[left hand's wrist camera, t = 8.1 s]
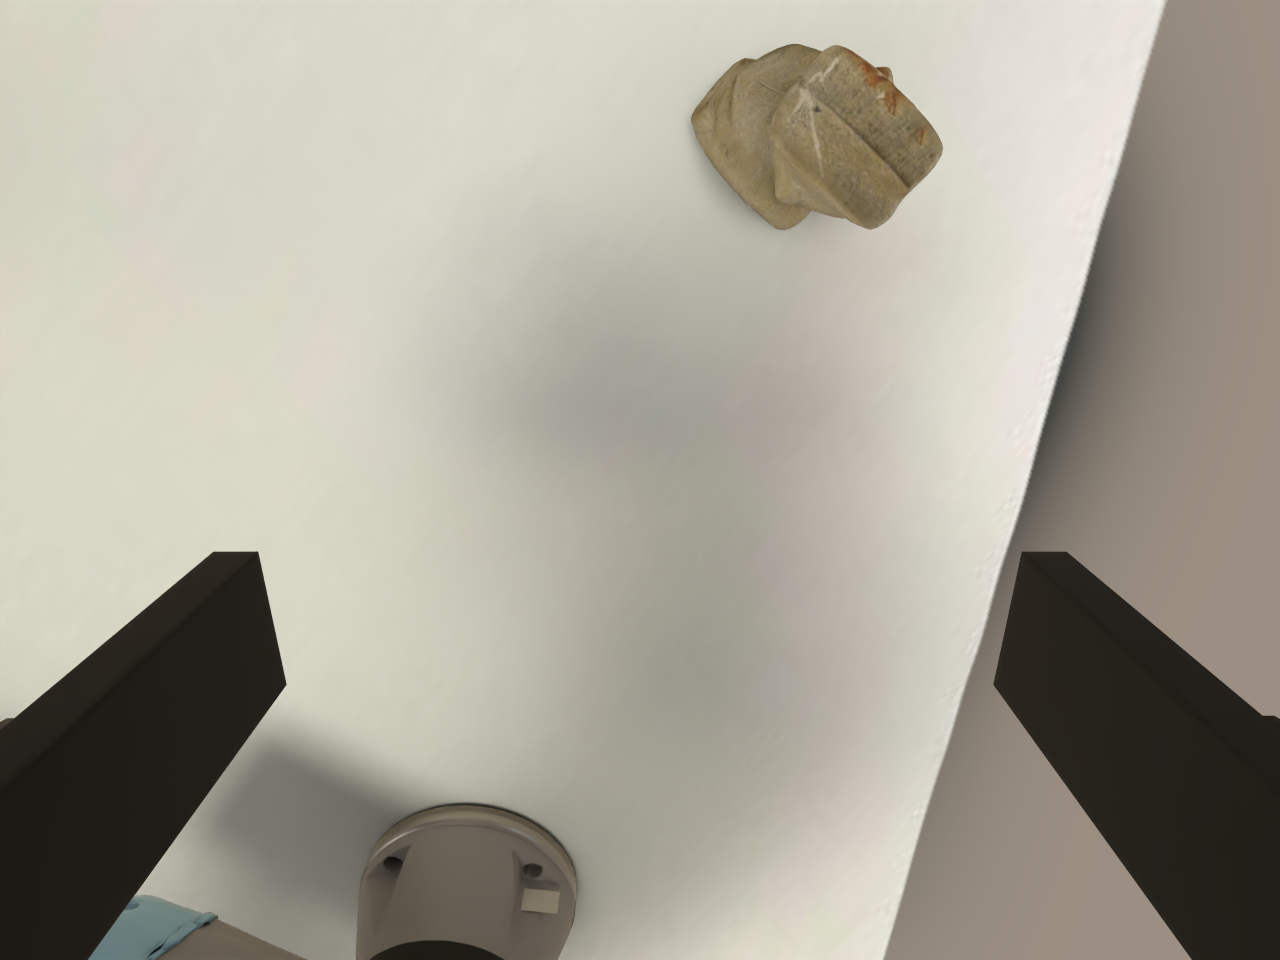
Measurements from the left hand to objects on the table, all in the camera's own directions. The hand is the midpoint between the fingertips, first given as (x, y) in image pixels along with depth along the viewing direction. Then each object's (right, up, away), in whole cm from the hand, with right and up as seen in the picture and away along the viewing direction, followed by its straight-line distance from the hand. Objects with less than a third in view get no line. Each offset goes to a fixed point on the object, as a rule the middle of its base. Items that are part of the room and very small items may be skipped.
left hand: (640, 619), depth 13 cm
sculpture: (+6, +18, +23) cm, 30 cm away
